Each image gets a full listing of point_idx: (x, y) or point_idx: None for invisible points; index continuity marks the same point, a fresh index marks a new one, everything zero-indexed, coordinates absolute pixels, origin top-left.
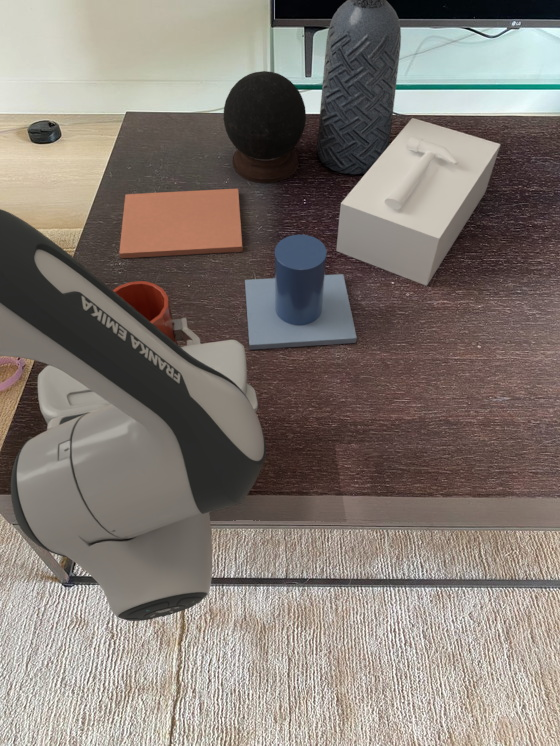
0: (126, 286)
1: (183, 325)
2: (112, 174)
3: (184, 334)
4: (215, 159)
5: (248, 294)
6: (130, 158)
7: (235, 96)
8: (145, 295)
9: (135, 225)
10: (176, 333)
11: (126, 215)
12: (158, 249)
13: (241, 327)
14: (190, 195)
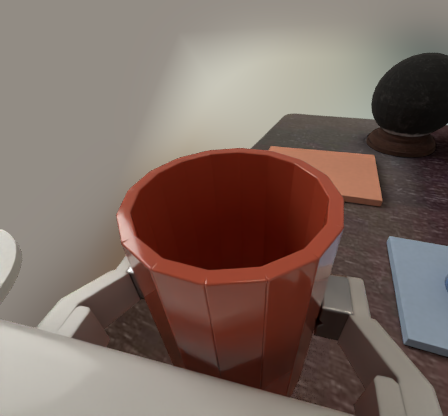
0: (224, 154)
1: (355, 302)
2: (264, 136)
3: (356, 335)
4: (350, 137)
5: (396, 255)
6: (280, 130)
7: (395, 70)
8: (266, 192)
9: None
10: (326, 319)
11: None
12: None
13: (385, 299)
14: (326, 153)
